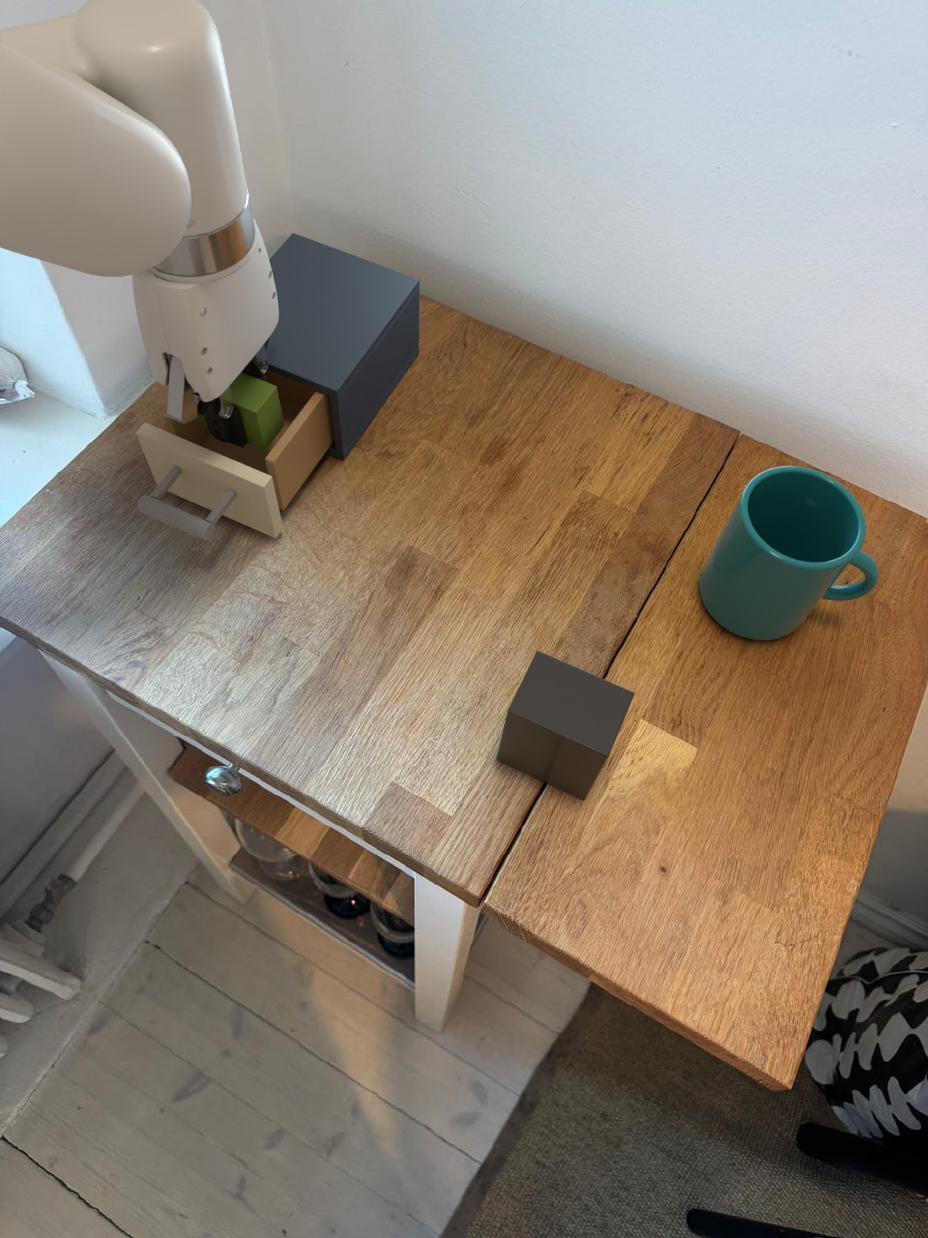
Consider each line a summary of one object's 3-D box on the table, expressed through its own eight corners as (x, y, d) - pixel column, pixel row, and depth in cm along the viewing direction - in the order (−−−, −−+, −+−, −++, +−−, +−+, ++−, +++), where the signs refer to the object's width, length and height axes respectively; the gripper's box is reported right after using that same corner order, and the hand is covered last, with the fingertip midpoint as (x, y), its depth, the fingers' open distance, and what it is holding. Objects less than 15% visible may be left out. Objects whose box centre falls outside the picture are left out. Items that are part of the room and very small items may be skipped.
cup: (835, 670, 70) (903, 597, 61) (686, 623, 72) (730, 545, 62) (848, 578, 75) (914, 497, 65) (708, 536, 76) (751, 450, 66)
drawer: (244, 582, 71) (229, 533, 65) (123, 528, 72) (97, 475, 67) (355, 425, 79) (351, 369, 73) (244, 380, 81) (231, 322, 75)
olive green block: (200, 424, 72) (187, 384, 68) (220, 399, 73) (209, 358, 69) (265, 451, 71) (256, 412, 67) (284, 425, 72) (277, 385, 68)
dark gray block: (495, 760, 65) (507, 711, 57) (522, 703, 68) (537, 649, 60) (584, 801, 64) (608, 757, 56) (608, 742, 66) (635, 692, 59)
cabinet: (344, 460, 78) (336, 391, 71) (220, 409, 80) (200, 336, 73) (419, 353, 85) (419, 279, 77) (303, 308, 87) (292, 232, 79)
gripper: (213, 134, 60) (255, 341, 76) (58, 283, 52) (142, 478, 69) (311, 169, 59) (333, 372, 75) (167, 327, 51) (226, 515, 67)
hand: (241, 421), depth 71 cm, fingers closed on olive green block, 3 cm apart
